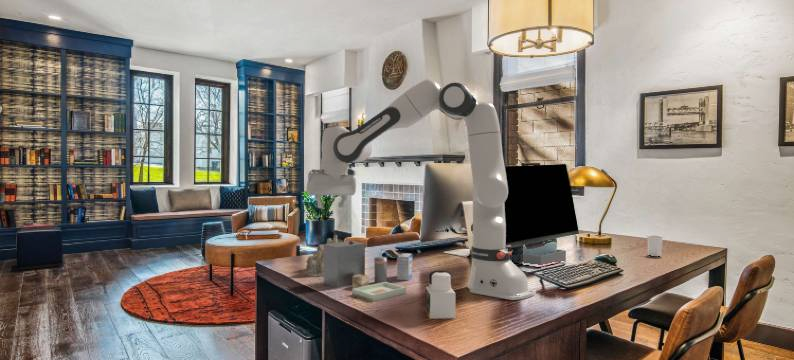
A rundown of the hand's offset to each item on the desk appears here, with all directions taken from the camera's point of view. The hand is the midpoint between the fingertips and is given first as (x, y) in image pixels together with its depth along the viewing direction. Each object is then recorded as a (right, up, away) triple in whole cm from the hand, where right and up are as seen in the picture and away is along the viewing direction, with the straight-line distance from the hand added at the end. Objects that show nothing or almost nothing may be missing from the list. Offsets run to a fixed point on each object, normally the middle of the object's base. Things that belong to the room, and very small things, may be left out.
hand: (331, 207), depth 164 cm
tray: (+19, -27, -20) cm, 38 cm away
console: (+6, -27, -6) cm, 28 cm away
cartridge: (+18, -27, -5) cm, 33 cm away
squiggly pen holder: (+87, -27, +37) cm, 98 cm away
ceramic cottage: (-5, -27, +13) cm, 30 cm away
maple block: (+12, -27, -11) cm, 31 cm away
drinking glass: (+150, -27, +53) cm, 162 cm away
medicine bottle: (+36, -28, -40) cm, 61 cm away
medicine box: (+27, -27, +3) cm, 38 cm away
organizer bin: (+88, -27, +35) cm, 98 cm away
